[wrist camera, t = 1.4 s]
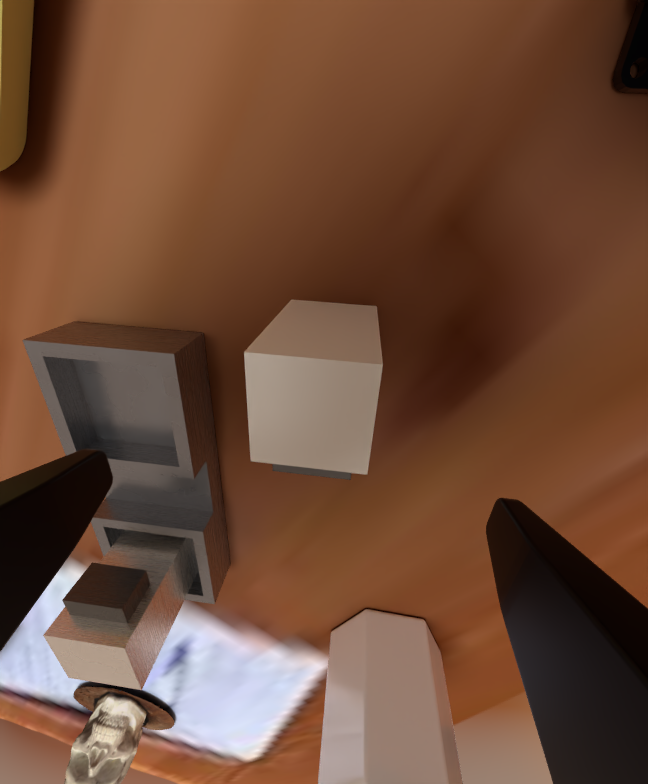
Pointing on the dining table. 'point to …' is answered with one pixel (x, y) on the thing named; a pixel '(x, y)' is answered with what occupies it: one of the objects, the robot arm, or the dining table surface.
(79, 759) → the skull
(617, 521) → the dining table surface
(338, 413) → the beige rectangular block
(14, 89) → the plastic component
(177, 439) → the grey holder stand
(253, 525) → the dining table surface
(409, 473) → the dining table surface
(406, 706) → the jar
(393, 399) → the dining table surface
